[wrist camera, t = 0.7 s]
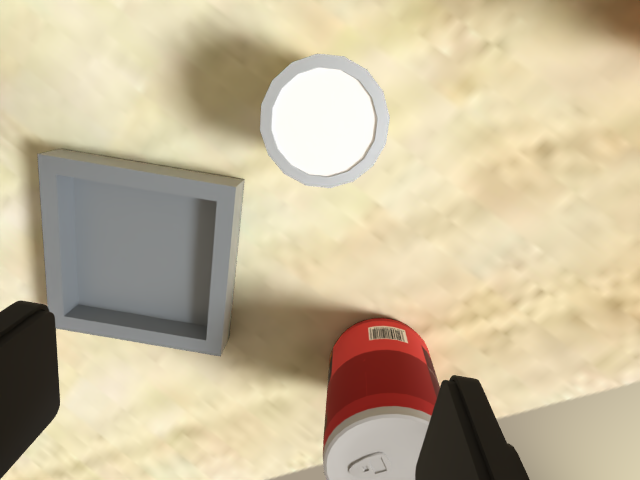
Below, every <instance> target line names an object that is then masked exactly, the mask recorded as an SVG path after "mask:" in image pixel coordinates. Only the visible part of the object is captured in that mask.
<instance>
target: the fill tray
mask: <svg viewBox="0 0 640 480" xmlns="http://www.w3.org/2000/svg"><path fill="white" fill-rule="evenodd" d="M37 155H38V170H39V184H40V199H41V214H42V229H43V244H44V259H45V274H46V288H47V303H48V308H49V312H52V313H53V314H54V316H55V327H56V328H57V329H63V330H68V331H74V332H80V333H86V334H92V335H98V336H104V337H110V338H115V339H121V340H127V341H133V342H139V343H145V344H151V345H157V346H163V347H168V348H174V349H180V350H186V351H192V352H198V353H204V354H210V355H216V356H221V354H222V352H223V350H224V348H225V346H226V344H227V342H228V340H229V334H230V324H231V313H232V303H233V293H234V283H235V272H236V262H237V252H238V242H239V231H240V221H241V211H242V200H243V190H244V179H238V178H232V177H226V176H220V175H215V174H209V173H203V172H197V171H191V170H185V169H179V168H173V167H167V166H161V165H155V164H149V163H143V162H137V161H131V160H125V159H119V158H113V157H107V156H101V155H95V154H89V153H83V152H77V151H71V150H65V149H58V150H53V151H48V152H44V153H39V154H37Z"/></svg>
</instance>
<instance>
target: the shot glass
mask: <svg viewBox="0 0 640 480" xmlns="http://www.w3.org/2000/svg"><path fill="white" fill-rule="evenodd" d="M389 119H390V117H389V113H388V109H387V105H386V101H385V97H384V93H383V91H382V89H381V88H380V86H379V85H378V84H377V82H376V81H375V80H374V78H373V77H372V76H371V74H370V73H369V72H368V70H367V69H365V68H363V67H361V66H360V65H358V64H356V63H354V62H353V61H351V60H349V59H348V58H346V57H344V56H335V55H325V54H315V55H312V56H309V57H306V58H303V59H300V60H297V61H294V62H292V63H291V64H290V65H289V66H287V67H286V68H285V69H284V70H283V71H282V72H281V73H280V74H279V75H278V76H276V77H275V78H274V79H273V80H272V82H271V84H270V87H269V89H268V91H267V93H266V95H265V97H264V100H263V102H262V104H261V121H260V132H261V135H262V138H263V141H264V144H265V147H266V150H267V152H268V155H269V156H270V157H271V159H272V160H273V161H274V162H275V163H276V165H277V166H278V167H279V168H280V169H281V170H282V172H283V173H284V174H286V175H287V176H289V177H291V178H293V179H295V180H297V181H299V182H301V183H302V184H304V185H307V186H316V187H325V188H332V187H335V186H339V185H342V184H346V183H349V182H353V181H354V180H356V179H357V178H358V177H360V176H361V175H362V174H363V173H365V172H366V171H367V170H368V169H370V168H371V167H372V166H373V165H374V163H375V162H376V160H377V158H378V157H379V155H380V153H381V151H382V150H383V148H384V146H385V144H386V139H387V133H388V126H389Z"/></svg>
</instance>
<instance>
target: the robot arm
mask: <svg viewBox="0 0 640 480" xmlns="http://www.w3.org/2000/svg"><path fill="white" fill-rule="evenodd" d="M59 406H60V394H59V377H58V360H57V344H56V327H55V316H54V314H53V313H52V312H49V308H48V307H47V306H46V305H43V304H38V303H32V302H26V301H17V302H15V303H13V304H12V305H10V306H9V307H7V308H6V309H4V310H3V311H1V312H0V479H1V478H2V477H3V476H4V474H5V473H6V472H7V471H8V470H9V469H10V468H11V466H12V465H13V464H14V463H15V462H16V461H17V460H18V459H19V457H20V456H21V455H22V454H23V453H24V452H25V451H26V450H27V448H28V447H29V446H30V445H31V444H32V443H33V442H34V440H35V439H36V438H37V437H38V436H39V435H40V434H41V433H42V431H43V430H44V429H45V428H46V427H47V426H48V425H49V424H50V422H51V421H52V420H53V419H54V418H55V416H56V414H57V412H58V410H59ZM415 480H529V477H528V475H527V473H526V471H525V469H524V467H523V464H522V462H521V460H520V458H519V456H518V453H517V452H516V450H515V449H514V447H513V446H511V445H510V444H507V442H506V440H505V438H504V436H503V434H502V431H501V429H500V427H499V425H498V422H497V420H496V418H495V415H494V413H493V411H492V409H491V406H490V404H489V402H488V400H487V397H486V395H485V393H484V390H483V388H482V386H481V384H480V382H479V380H477V379H473V378H467V377H462V376H456V375H453V376H452V377H451V378H450V380H449V381H448V380H443V382H442V384H441V387H440V390H439V393H438V396H437V399H436V403H435V406H434V409H433V412H432V416H431V419H430V422H429V425H428V428H427V432H426V435H425V438H424V441H423V445H422V448H421V451H420V454H419V457H418V461H417V464H416V470H415Z"/></svg>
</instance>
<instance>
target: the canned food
mask: <svg viewBox="0 0 640 480" xmlns="http://www.w3.org/2000/svg"><path fill="white" fill-rule="evenodd" d="M439 390H440V386H439V383H438V380H437V377H436V374H435V370H434V367H433V364H432V361H431V358H430V354H429V351H428V348H427V346H426V344H425V342H424V341H423V339H422V338H421V337H420V336H419V335H418V334H417V333H416V332H415V331H414V330H413V329H411V328H410V327H409V326H408V325H406V324H404V323H402V322H399V321H396V320H393V319H386V318H374V319H369V320H364V321H361V322H359V323H357V324H354V325H353V326H351V327H350V328H348V329H347V330H346V331H345V332H344V333H343V334H342V335H341V336H340V338H339V339H338V340H337V342H336V343H335V345H334V347H333V349H332V352H331V355H330V362H329V375H328V388H327V401H326V414H325V427H324V441H323V444H324V446H323V464H324V473H325V476H326V479H327V480H415V470H416V464H417V461H418V457H419V454H420V451H421V448H422V445H423V441H424V438H425V435H426V432H427V428H428V425H429V422H430V419H431V416H432V412H433V409H434V406H435V403H436V399H437V396H438V393H439Z"/></svg>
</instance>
